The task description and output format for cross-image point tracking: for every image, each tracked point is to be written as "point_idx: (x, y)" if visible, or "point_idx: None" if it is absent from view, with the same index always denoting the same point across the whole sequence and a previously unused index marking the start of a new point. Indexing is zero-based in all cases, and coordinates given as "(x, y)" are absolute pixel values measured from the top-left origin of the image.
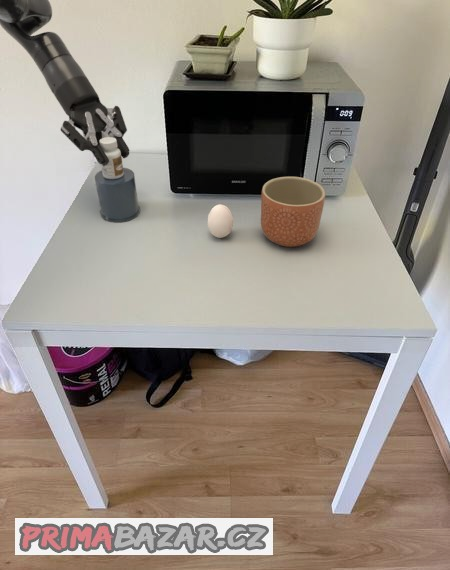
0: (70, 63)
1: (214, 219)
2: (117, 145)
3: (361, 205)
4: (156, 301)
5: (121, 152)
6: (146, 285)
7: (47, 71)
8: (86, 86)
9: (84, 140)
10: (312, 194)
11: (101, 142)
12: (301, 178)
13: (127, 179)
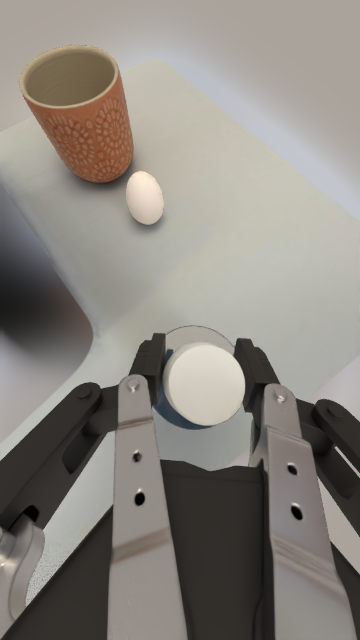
0: None
1: (159, 188)
2: (159, 382)
3: None
4: (289, 198)
5: (163, 362)
6: (280, 221)
7: None
8: None
9: (339, 421)
10: (42, 97)
11: (243, 384)
12: (22, 82)
13: (188, 332)
